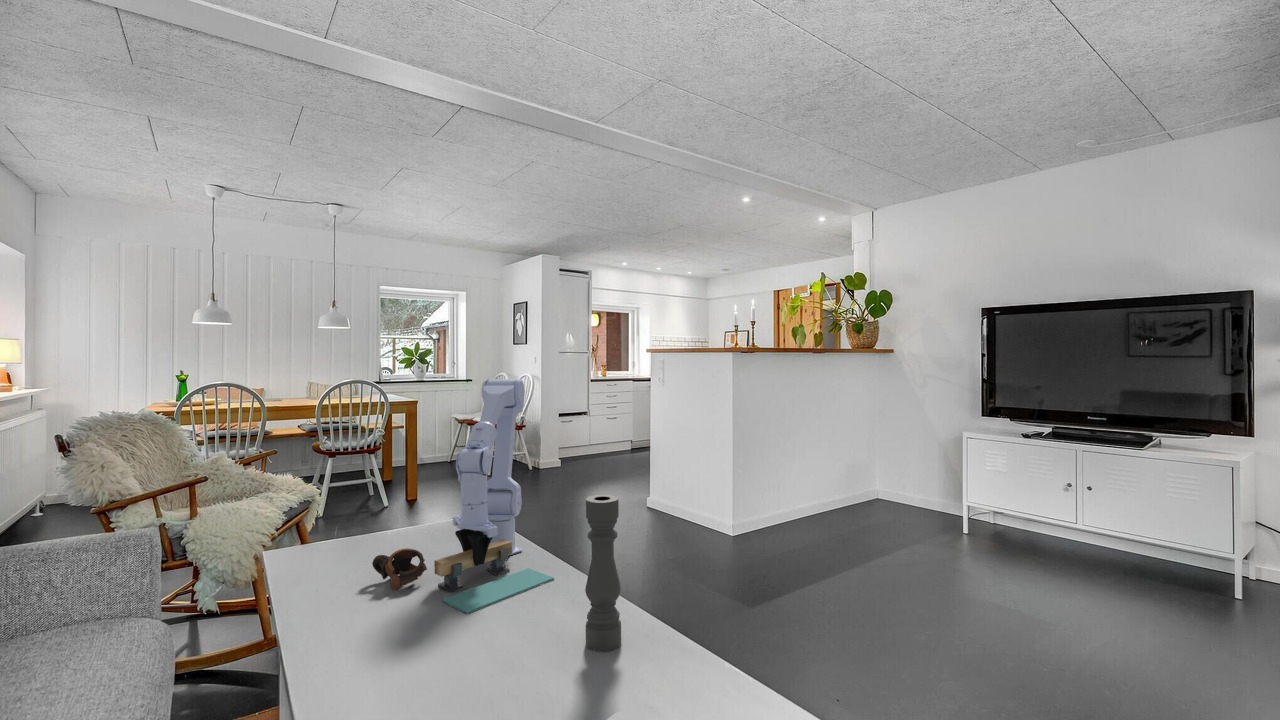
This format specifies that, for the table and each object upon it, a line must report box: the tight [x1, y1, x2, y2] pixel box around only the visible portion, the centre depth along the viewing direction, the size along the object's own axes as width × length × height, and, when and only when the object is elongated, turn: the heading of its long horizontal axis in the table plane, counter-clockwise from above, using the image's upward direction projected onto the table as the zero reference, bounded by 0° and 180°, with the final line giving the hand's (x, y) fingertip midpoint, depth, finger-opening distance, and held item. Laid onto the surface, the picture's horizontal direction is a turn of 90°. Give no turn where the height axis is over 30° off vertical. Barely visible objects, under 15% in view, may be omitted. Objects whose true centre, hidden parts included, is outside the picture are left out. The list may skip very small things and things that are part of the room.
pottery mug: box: [371, 548, 428, 591], centre depth 126 cm, size 12×10×8 cm
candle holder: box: [584, 494, 622, 653], centre depth 99 cm, size 6×6×25 cm
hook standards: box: [438, 548, 510, 593], centre depth 128 cm, size 6×15×6 cm, turn 139°
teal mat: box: [441, 567, 555, 615], centre depth 122 cm, size 9×22×1 cm, turn 139°
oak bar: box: [434, 539, 513, 578], centre depth 128 cm, size 3×18×3 cm, turn 139°
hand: (475, 562), depth 128 cm, fingers closed on oak bar, 3 cm apart
